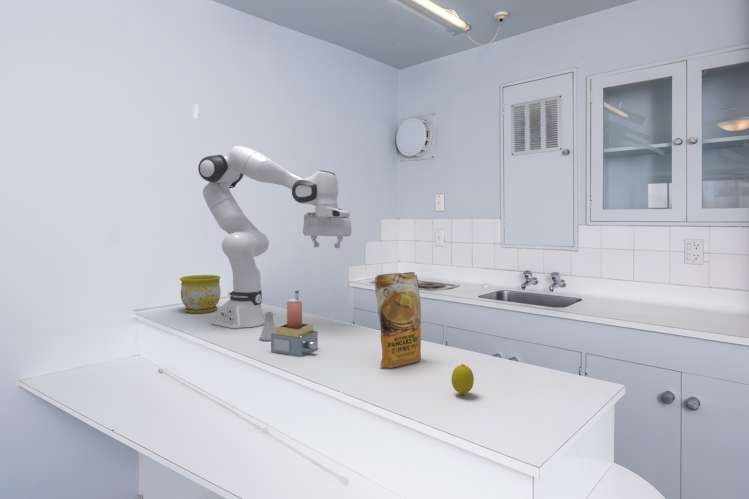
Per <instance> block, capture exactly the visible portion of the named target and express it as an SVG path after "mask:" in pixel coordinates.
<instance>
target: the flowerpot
mask: <svg viewBox="0 0 749 499" xmlns="http://www.w3.org/2000/svg"><path fill="white" fill-rule="evenodd" d="M179 280H180V281H181V283H180V284H181V288H180V298H181V302H182V303H183V305H184V307H185V309H184V310H185V311H186V312H187V313H189V314H198V315H199V314H200V315H201V314H208V313H212V312H215V311H216V309H217V308H218V306H217V304H219V301H220V299H221V286H220V283H221V282H220V280H221V276H220V275H216V274H215V275H214V274H195V275H185V276H181V277H180V278H179Z"/></svg>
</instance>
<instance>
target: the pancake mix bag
mask: <svg viewBox="0 0 749 499" xmlns="http://www.w3.org/2000/svg"><path fill="white" fill-rule="evenodd" d="M417 276H418V275H417V274H415V272H413V271H411V272H393V273H384V274H377V276H375V278H374V287H375V288H374V289H375V297H376V303H377V304H376V305H377V314H378V320H379V325H380V343H381V352H382V353H381V354H382V355H381V356H382V357H381V361H380V367H379V368H380V369H396V368H400V367H404V366H405V367H406V366H408V365H412V364H417V363H419V362H420V360H421V359H422V353H421V350H422V348H421V347H422V311H421V305H422V304H421V295H420V288H419V282H418V277H417Z"/></svg>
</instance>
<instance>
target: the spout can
mask: <svg viewBox="0 0 749 499" xmlns="http://www.w3.org/2000/svg"><path fill="white" fill-rule="evenodd" d="M294 293H295V296H294V297H295V298H289V299H288V301H286V323H287V328H294V329H299V328H301V327H302V323H303V301H302V300H301V299H300V298H299V293H300V290H299V289H298V290H294Z"/></svg>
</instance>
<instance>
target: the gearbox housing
mask: <svg viewBox="0 0 749 499" xmlns="http://www.w3.org/2000/svg"><path fill="white" fill-rule="evenodd" d="M275 330H276V332H273V334H271V341H270V353H274V354H281V355H282V354H283V355H288V356H295V357H296V356H297V357H304V356H307V355H308V354H310V353H312V352H314V351H316V350H318V347H319V346H318V345H319V344H318V338H319V337H318V331H316V329H314V324H313V323H305V322H302V327H301V328H299V329H294V328H287V322H286V323H284V324H281V325H277V326H275Z"/></svg>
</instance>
